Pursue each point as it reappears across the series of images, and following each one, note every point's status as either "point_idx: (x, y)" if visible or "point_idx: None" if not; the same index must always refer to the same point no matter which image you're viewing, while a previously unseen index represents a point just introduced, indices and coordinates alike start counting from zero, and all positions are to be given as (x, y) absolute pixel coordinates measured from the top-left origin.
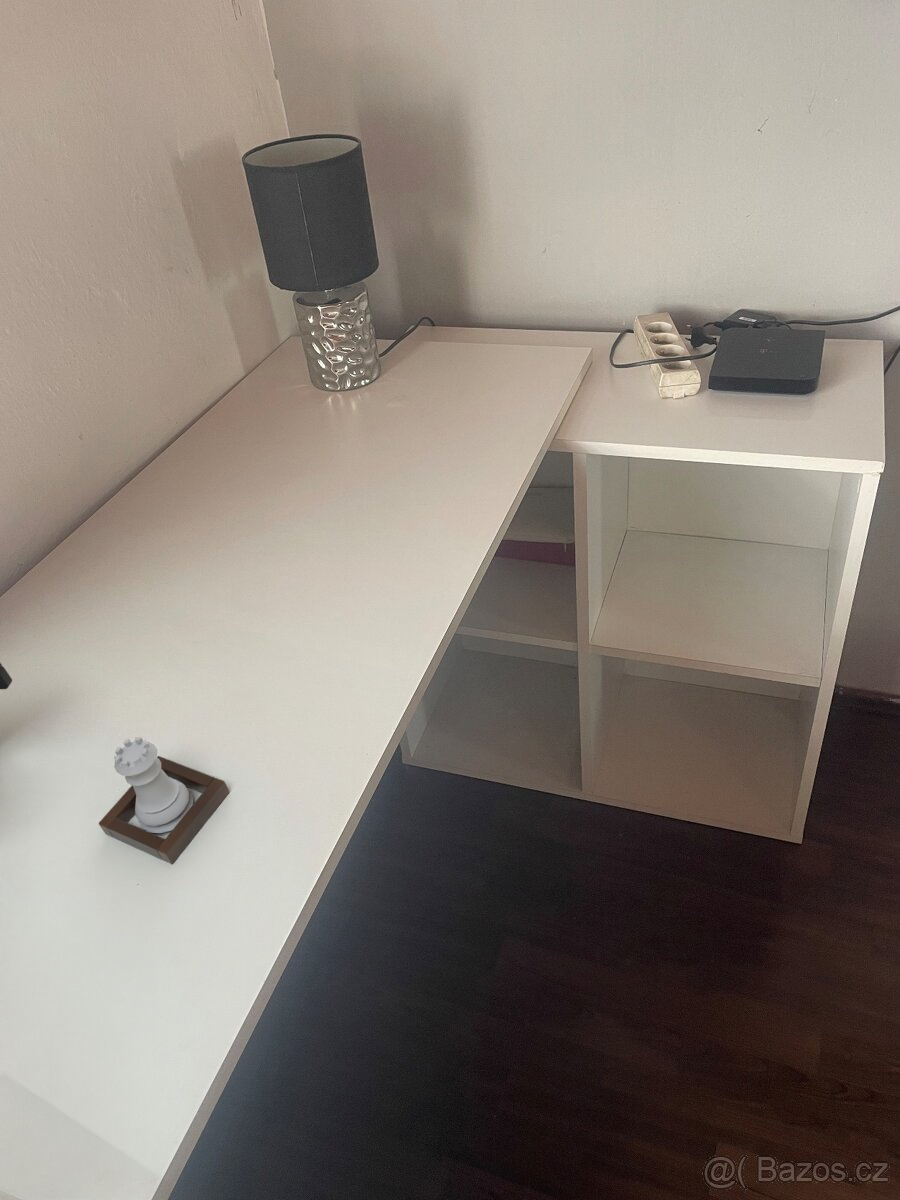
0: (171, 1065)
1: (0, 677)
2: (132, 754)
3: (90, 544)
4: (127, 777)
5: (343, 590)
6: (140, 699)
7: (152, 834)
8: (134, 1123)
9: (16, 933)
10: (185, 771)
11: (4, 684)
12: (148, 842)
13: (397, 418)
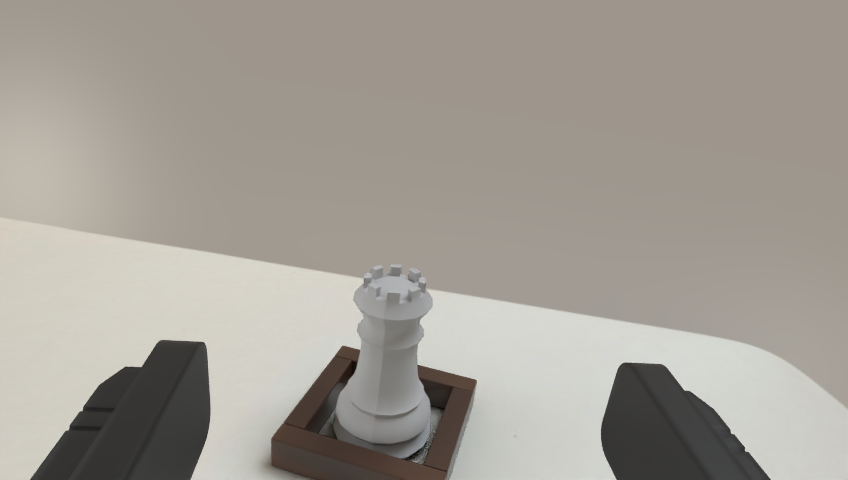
0: (683, 353)
1: (205, 374)
2: (398, 283)
3: None
4: (412, 336)
5: None
6: None
7: (449, 401)
8: (745, 367)
9: None
10: (319, 389)
11: (208, 409)
12: (464, 402)
13: None
